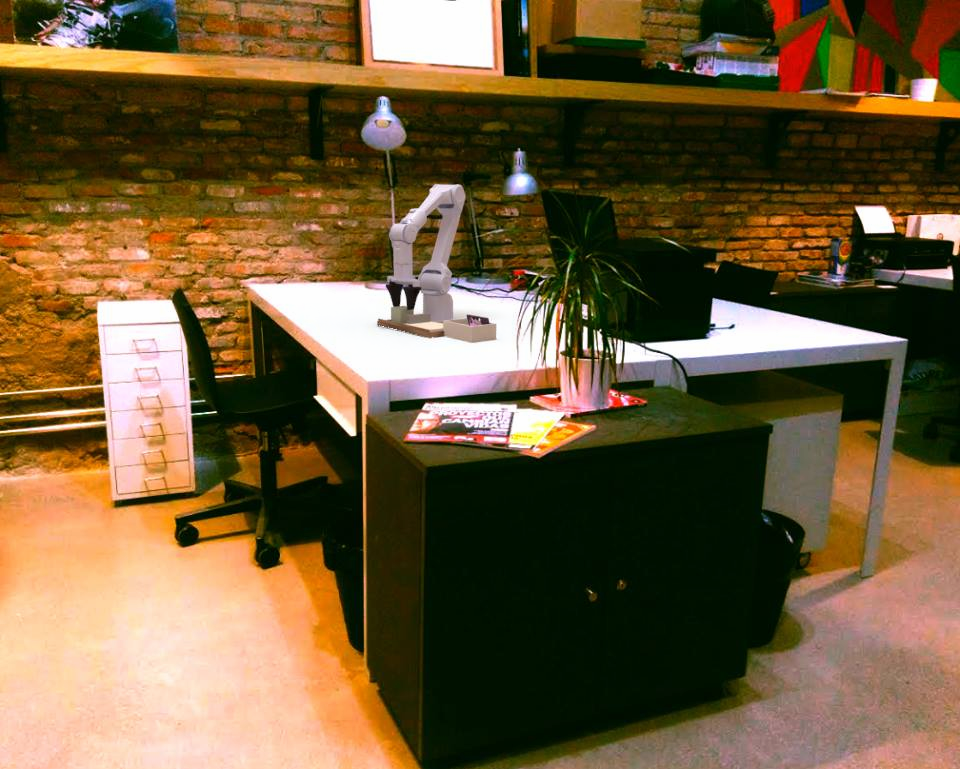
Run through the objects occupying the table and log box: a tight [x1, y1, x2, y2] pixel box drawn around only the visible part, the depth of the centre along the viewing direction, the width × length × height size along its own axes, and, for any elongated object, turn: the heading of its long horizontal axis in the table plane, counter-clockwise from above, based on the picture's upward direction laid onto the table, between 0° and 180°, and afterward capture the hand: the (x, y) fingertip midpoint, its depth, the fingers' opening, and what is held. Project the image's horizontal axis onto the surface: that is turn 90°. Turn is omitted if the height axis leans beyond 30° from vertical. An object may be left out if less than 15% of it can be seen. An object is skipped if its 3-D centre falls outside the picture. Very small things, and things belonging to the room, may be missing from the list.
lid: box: [405, 313, 443, 332], centre depth 255 cm, size 10×13×3 cm
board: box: [376, 318, 445, 339], centre depth 260 cm, size 11×27×2 cm, turn 40°
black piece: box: [466, 313, 491, 326], centre depth 247 cm, size 7×5×9 cm
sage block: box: [390, 305, 415, 324], centre depth 264 cm, size 5×5×6 cm
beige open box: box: [442, 317, 497, 343], centre depth 248 cm, size 9×13×4 cm
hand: (403, 308), depth 263 cm, fingers open, 7 cm apart
